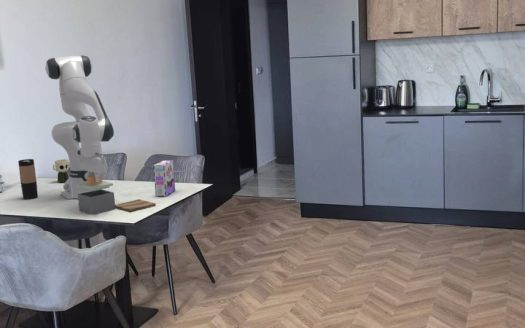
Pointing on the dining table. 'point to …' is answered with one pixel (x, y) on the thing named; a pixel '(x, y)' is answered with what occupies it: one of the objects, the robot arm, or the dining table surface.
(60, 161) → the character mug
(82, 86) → the robot arm
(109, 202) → the storage box
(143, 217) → the dining table surface
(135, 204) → the walnut board
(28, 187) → the travel mug
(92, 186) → the lid
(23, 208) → the dining table surface
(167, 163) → the candy box
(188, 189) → the dining table surface
